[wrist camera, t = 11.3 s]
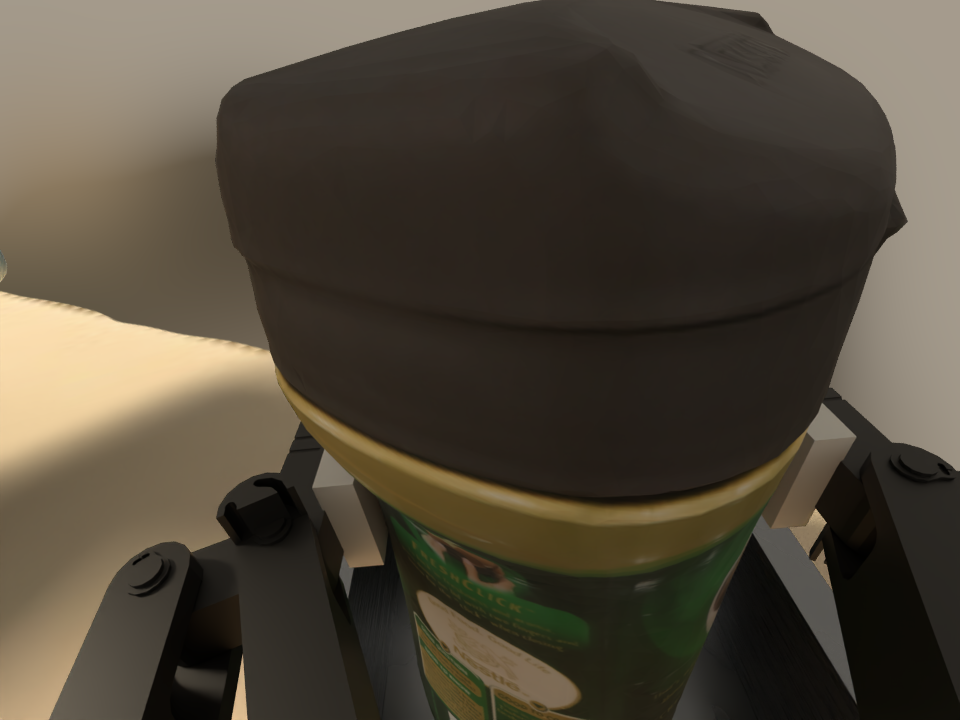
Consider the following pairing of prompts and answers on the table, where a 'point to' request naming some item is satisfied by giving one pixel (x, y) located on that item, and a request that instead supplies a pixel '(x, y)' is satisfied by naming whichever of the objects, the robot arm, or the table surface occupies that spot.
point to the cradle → (721, 663)
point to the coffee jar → (560, 317)
